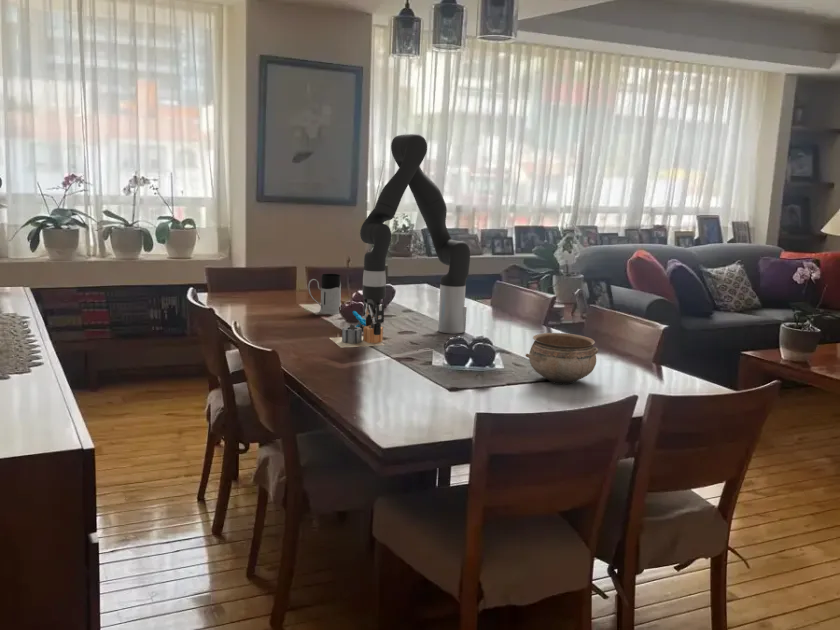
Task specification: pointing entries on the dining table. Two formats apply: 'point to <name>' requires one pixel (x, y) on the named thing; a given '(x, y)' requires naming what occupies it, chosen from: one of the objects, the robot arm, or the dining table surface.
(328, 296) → the white and black mug
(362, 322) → the blue sprocket wheel
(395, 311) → the dining table surface
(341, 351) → the dining table surface
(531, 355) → the cooking pot
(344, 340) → the gear
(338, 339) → the peg board
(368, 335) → the gear
